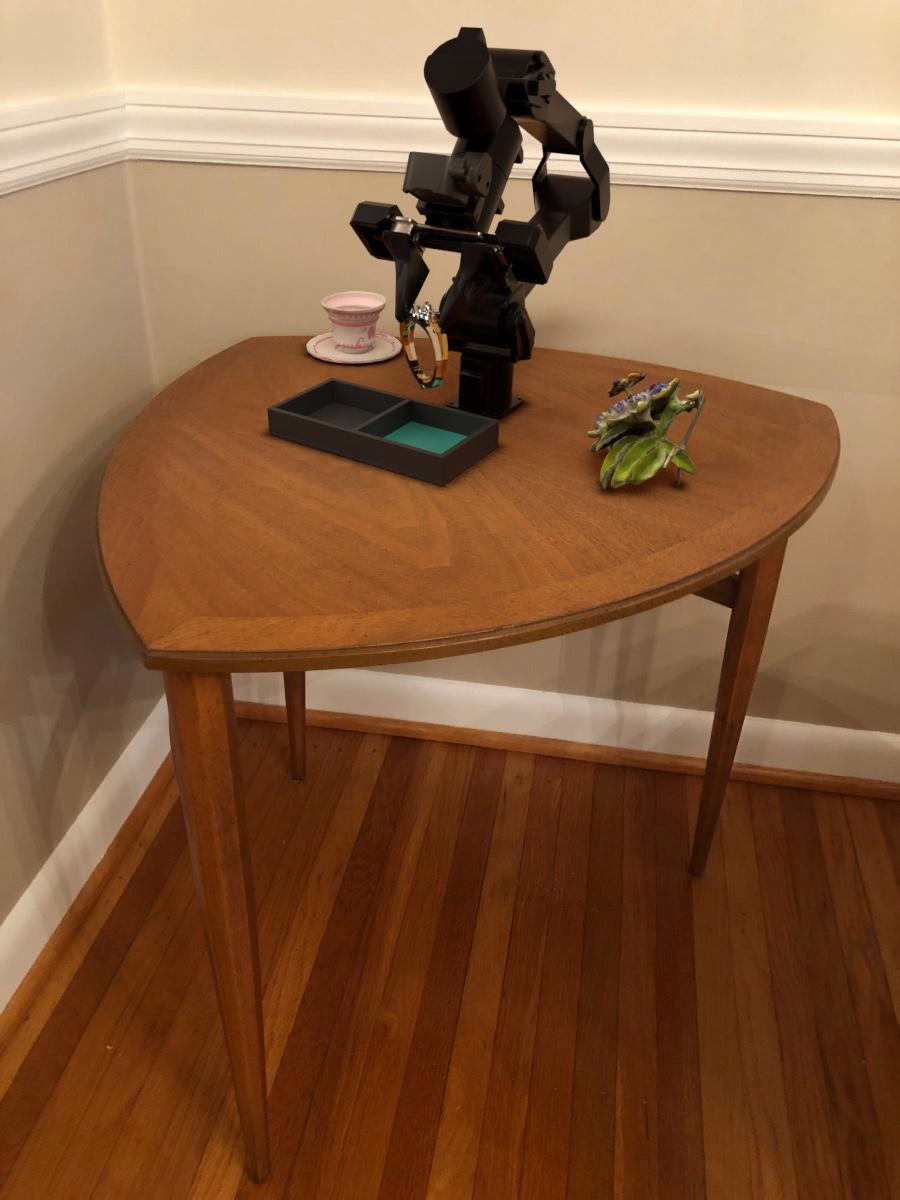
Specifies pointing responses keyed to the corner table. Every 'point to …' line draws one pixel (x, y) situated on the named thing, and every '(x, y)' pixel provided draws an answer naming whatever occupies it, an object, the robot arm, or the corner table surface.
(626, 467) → the passion flower
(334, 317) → the teacup
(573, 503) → the corner table surface
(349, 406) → the tray
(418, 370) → the ring
